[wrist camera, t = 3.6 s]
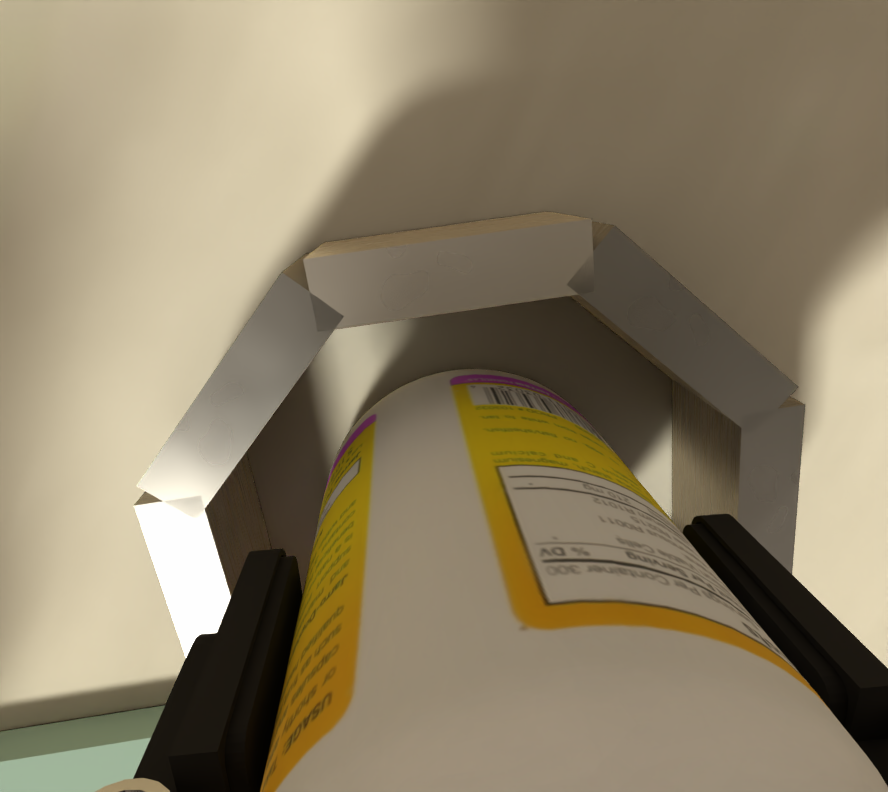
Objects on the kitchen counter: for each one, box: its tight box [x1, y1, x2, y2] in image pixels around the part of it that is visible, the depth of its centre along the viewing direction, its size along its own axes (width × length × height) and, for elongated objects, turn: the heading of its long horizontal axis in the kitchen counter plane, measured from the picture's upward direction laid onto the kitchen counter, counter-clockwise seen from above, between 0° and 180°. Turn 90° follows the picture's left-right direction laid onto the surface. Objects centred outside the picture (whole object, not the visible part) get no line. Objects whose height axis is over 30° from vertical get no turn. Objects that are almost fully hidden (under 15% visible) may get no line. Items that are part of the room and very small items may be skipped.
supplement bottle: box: [260, 369, 888, 792], centre depth 9 cm, size 7×7×13 cm
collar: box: [134, 211, 805, 657], centre depth 13 cm, size 12×12×3 cm
